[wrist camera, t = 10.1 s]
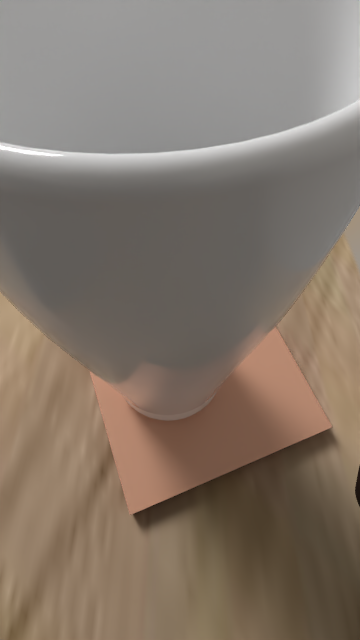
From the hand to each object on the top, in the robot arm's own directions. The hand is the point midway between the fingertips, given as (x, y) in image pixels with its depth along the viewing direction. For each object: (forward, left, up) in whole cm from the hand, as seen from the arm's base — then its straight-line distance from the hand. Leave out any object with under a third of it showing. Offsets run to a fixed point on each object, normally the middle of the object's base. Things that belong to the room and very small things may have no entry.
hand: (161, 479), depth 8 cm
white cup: (+5, -2, -8) cm, 10 cm away
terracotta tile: (+5, -3, -9) cm, 11 cm away
